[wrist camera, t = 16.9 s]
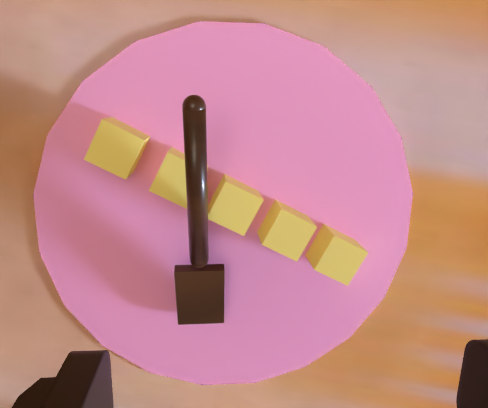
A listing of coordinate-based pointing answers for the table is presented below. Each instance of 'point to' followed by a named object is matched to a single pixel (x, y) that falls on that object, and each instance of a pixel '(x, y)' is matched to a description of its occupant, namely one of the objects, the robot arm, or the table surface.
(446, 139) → the table surface
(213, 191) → the platter
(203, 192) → the spatula
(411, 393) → the table surface
